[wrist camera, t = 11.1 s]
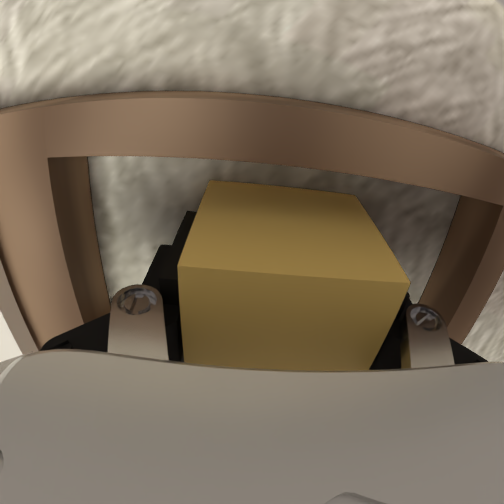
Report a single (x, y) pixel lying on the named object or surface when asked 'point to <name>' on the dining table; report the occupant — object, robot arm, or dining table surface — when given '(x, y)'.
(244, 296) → the block
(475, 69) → the dining table surface
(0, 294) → the lid
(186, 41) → the dining table surface
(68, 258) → the brown box
